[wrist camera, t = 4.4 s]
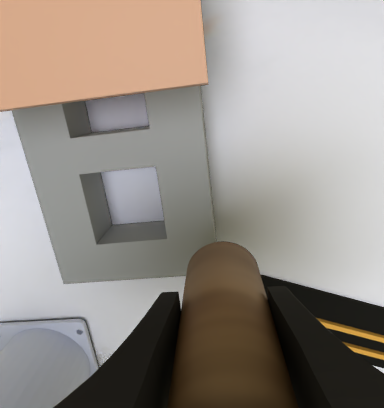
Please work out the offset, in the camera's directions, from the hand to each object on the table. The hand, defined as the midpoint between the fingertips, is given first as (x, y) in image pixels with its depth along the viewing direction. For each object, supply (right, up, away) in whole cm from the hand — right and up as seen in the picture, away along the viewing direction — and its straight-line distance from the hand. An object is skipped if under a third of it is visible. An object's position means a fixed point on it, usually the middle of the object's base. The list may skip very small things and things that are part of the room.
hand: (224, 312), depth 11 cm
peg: (0, +1, +2) cm, 2 cm away
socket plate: (-5, +7, +8) cm, 12 cm away
